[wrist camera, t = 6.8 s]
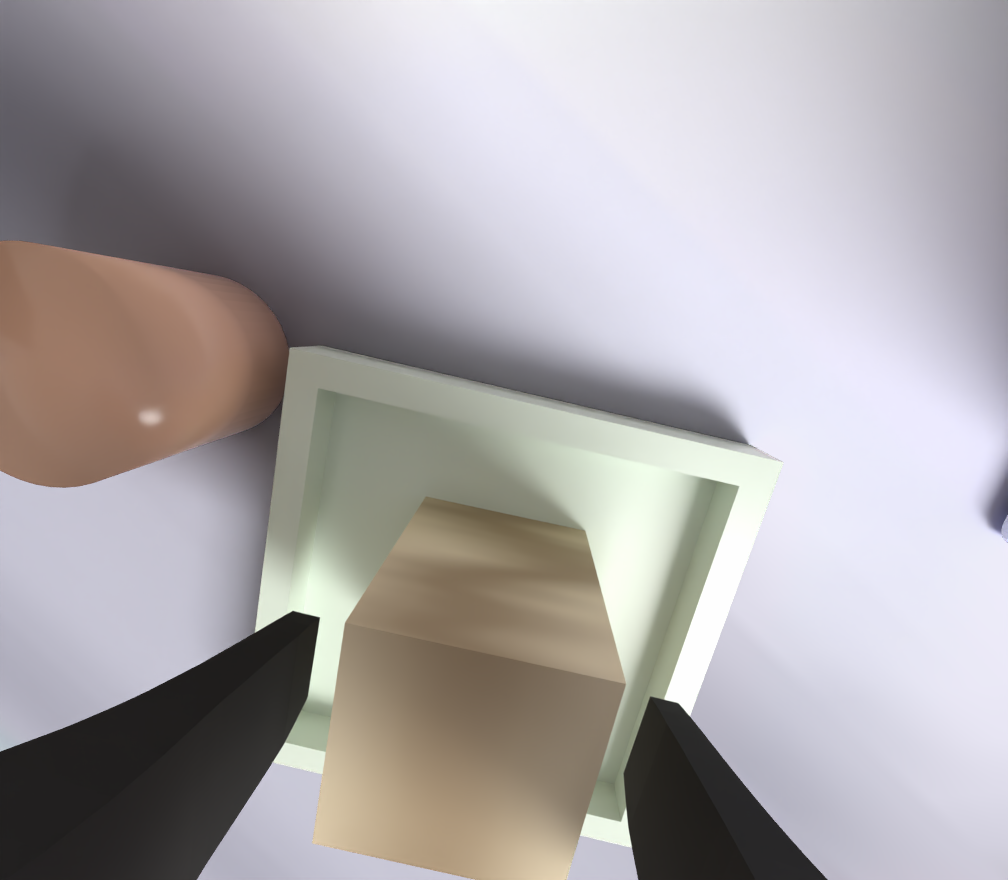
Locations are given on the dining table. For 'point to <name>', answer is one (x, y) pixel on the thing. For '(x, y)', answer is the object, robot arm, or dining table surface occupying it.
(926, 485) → the dining table surface
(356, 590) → the tray
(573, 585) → the maple block
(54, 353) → the peach rounded cylinder
